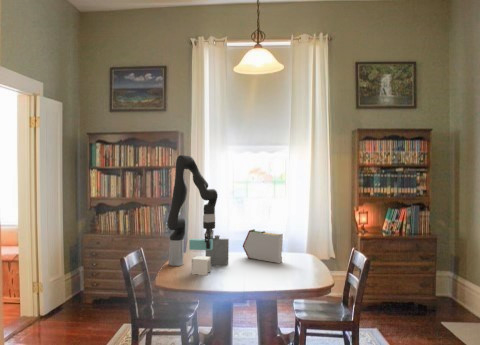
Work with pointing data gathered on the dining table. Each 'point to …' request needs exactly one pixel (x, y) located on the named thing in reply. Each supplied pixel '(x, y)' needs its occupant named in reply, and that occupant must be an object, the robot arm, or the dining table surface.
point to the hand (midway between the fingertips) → (209, 247)
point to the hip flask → (218, 251)
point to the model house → (263, 246)
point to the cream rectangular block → (200, 265)
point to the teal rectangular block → (199, 244)
